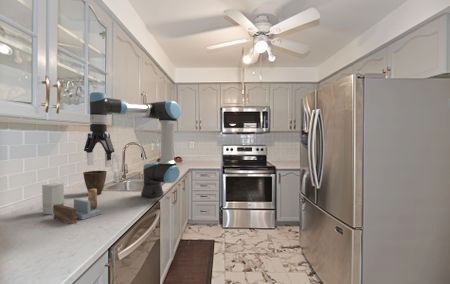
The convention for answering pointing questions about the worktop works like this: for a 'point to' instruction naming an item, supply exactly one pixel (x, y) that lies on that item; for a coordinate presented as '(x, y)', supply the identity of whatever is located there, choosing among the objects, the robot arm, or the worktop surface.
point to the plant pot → (95, 180)
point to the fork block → (84, 209)
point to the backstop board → (65, 214)
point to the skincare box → (52, 196)
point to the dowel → (92, 198)
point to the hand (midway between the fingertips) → (99, 166)
